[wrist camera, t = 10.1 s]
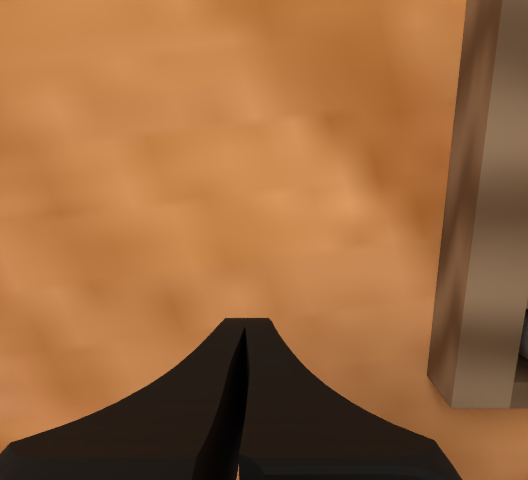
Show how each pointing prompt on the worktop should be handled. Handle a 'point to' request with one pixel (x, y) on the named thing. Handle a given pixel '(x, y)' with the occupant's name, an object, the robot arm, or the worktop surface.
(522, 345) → the grey plug
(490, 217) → the walnut block
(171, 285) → the worktop surface
